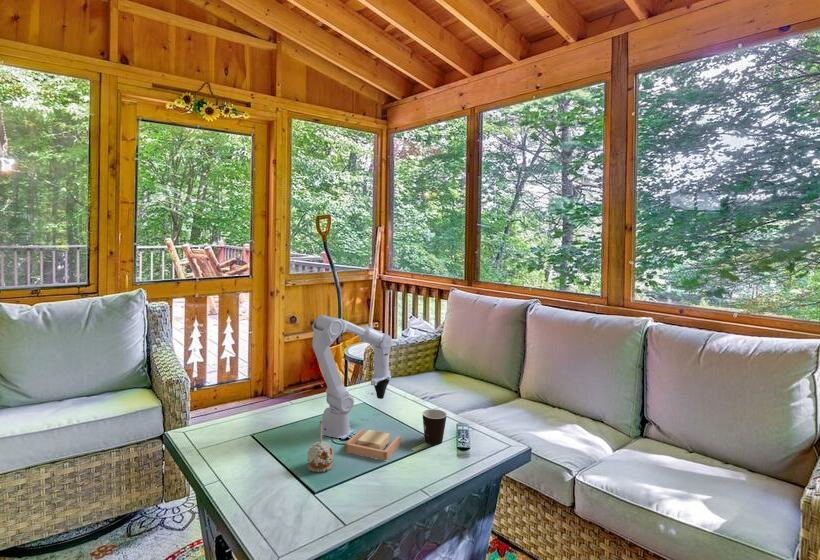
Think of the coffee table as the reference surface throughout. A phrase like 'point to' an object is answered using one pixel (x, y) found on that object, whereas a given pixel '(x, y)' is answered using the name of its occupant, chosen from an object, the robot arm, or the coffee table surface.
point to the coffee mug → (434, 426)
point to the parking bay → (370, 452)
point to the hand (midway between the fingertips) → (380, 398)
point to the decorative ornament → (320, 455)
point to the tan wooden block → (374, 439)
